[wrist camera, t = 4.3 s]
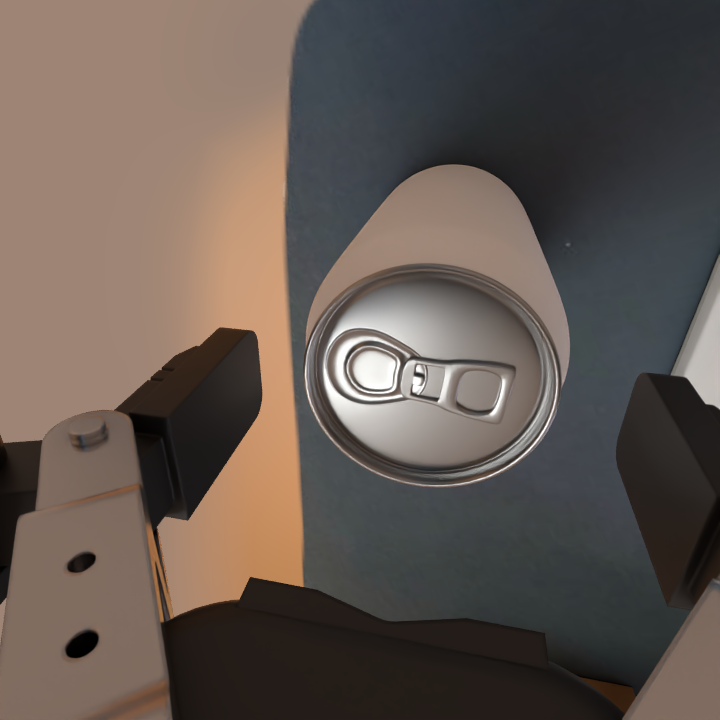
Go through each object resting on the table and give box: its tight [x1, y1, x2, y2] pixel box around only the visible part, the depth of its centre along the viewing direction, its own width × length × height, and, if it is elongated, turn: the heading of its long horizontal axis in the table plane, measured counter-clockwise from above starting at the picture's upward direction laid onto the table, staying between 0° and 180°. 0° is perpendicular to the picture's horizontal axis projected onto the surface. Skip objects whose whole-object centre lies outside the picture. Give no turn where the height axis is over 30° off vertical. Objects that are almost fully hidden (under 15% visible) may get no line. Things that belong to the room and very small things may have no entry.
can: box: [303, 164, 570, 488], centre depth 16 cm, size 6×6×12 cm
